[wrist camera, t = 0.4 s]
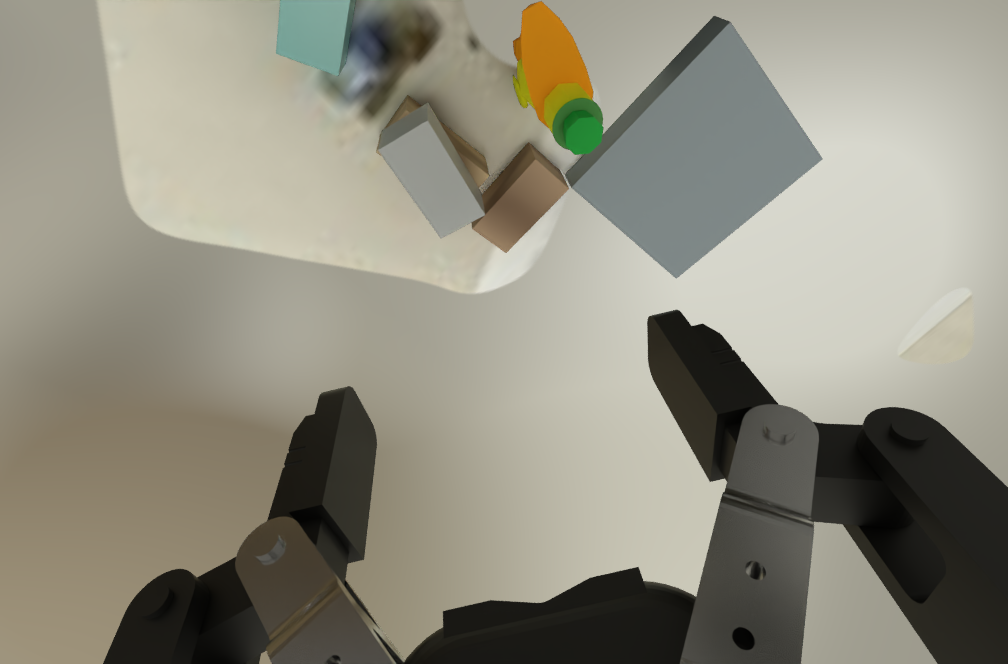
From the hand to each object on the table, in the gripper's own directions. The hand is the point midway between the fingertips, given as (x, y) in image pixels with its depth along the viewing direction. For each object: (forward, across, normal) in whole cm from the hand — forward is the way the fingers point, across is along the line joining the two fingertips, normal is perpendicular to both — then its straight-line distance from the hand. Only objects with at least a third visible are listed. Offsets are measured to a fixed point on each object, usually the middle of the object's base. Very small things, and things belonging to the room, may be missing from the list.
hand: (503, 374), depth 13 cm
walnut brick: (+23, -3, +4) cm, 23 cm away
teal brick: (+22, +5, -9) cm, 24 cm away
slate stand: (+22, -15, +4) cm, 27 cm away
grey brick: (+19, +2, 0) cm, 19 cm away
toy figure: (+22, -5, -4) cm, 23 cm away
